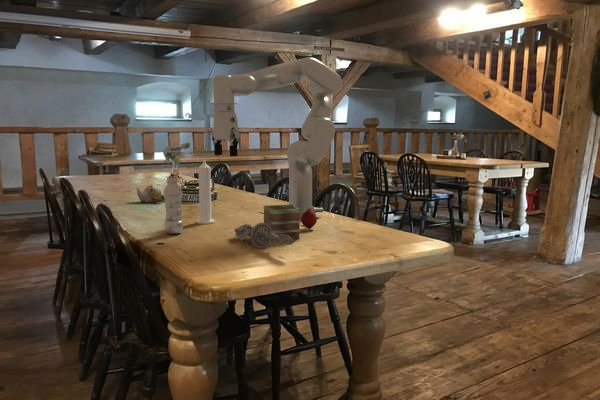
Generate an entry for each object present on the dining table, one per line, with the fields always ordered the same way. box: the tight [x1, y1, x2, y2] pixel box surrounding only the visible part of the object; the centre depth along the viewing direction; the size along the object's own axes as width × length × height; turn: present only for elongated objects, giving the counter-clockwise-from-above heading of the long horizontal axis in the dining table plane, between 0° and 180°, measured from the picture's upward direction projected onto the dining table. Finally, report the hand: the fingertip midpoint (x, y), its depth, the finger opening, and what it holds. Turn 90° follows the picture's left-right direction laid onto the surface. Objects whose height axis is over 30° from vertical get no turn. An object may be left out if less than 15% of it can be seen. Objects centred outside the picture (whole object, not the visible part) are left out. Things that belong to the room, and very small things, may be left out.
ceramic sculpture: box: [136, 185, 165, 203], centre depth 243 cm, size 11×9×15 cm
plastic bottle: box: [163, 176, 184, 235], centre depth 174 cm, size 6×7×20 cm
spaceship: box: [233, 222, 295, 249], centre depth 156 cm, size 8×35×8 cm
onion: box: [300, 208, 318, 230], centre depth 183 cm, size 6×6×8 cm
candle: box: [196, 158, 216, 225], centre depth 193 cm, size 7×7×25 cm
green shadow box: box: [263, 204, 301, 240], centre depth 170 cm, size 10×11×10 cm
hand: (225, 155), depth 186 cm, fingers open, 9 cm apart
